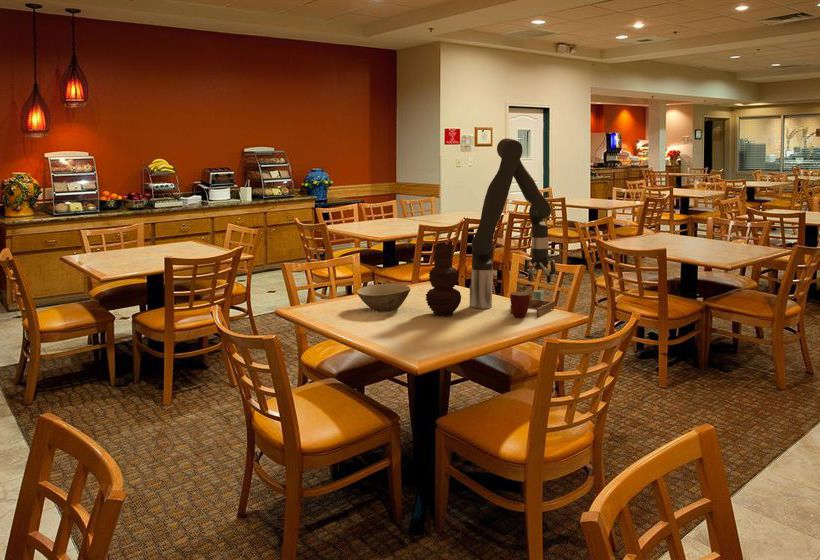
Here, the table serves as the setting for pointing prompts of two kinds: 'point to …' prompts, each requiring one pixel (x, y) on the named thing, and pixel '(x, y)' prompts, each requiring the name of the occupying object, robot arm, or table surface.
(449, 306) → the vase
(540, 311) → the caddy
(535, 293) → the tea tin
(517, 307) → the mug
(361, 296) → the bowl
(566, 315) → the table surface
